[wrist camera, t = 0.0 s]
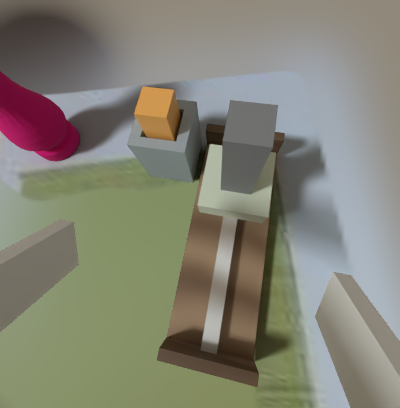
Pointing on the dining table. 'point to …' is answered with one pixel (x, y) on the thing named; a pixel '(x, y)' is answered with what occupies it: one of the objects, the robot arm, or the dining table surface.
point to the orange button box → (170, 147)
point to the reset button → (158, 113)
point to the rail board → (219, 290)
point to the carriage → (241, 165)
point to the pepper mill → (35, 122)
